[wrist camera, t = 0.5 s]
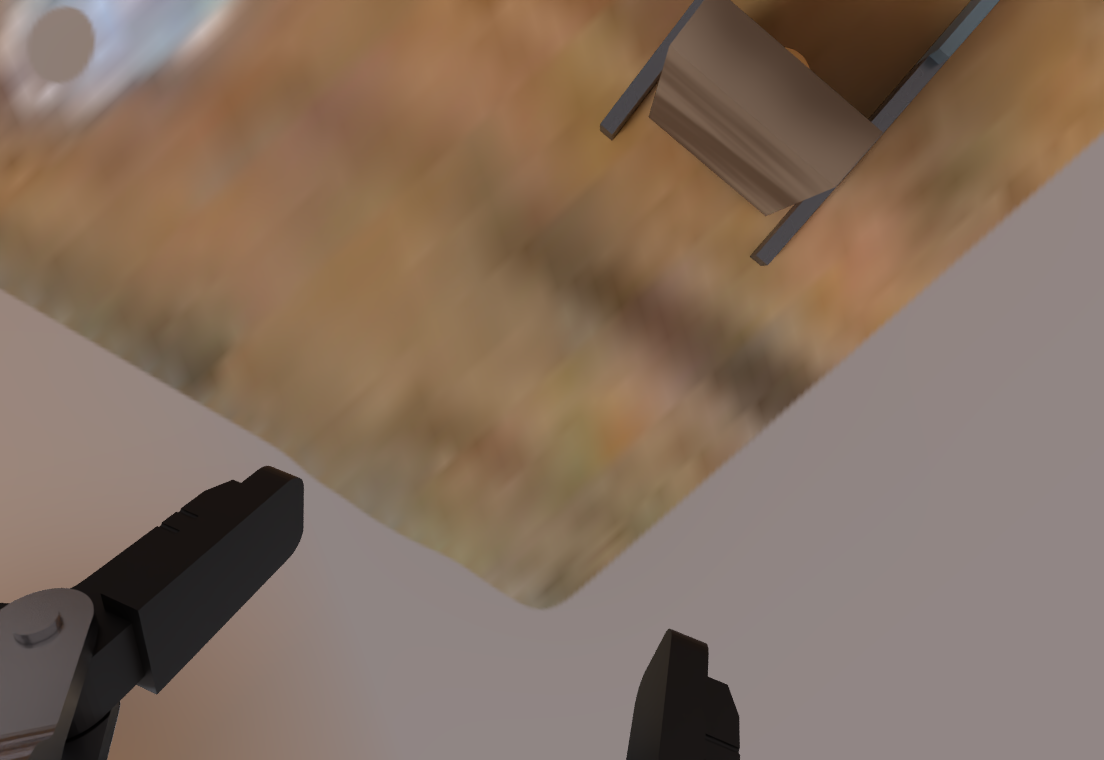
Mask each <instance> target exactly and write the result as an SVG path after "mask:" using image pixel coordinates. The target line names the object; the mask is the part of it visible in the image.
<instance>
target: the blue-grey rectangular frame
mask: <svg viewBox="0 0 1104 760" xmlns="http://www.w3.org/2000/svg"><path fill="white" fill-rule="evenodd" d="M999 1H1000V0H971V1H970V2H969V4H968V5H967V6H966V7H965V8H964V9H963V10H962V12H961V13H960V14H959V15H958V16H957V17H956V19H955V20H954V21H953V22H952V23H951V24H950V25H949V27H948V28H947V29H946V30H945V31H944V32H943V34H942V35H941V36H940V37H939V38H938V39H937V41H936V42H935V43H934V44H933V45H932V46H931V47H930V49H929V50H928V51H927V52H926V53H925V54H924V56H923V57H922V58H921V59H920V60H919V61H918V62H917V64H918V63H919V62H921V61H922V60H923V59H925V58H926V57H928V56H930V57H931V58H932V59H933V60H935V61H936V62H937V63H938V64H940V63H942V62H944V61H945V60H947V59H948V58H950V56H951V55H952V54H953V53H954V52H955V51H956V50H957V48H958V47H959V46H960V45H961V44H962V43H963V42H964V40H965V39H966V38H967V37H968V36H969V35H970V34H971V32H972V31H973V30H974V29H975V28H976V27H977V26H978V24H979V23H980V22H981V21H982V20H983V19H984V18H985V16H986V15H987V14H988V13H989V12H990V11H991V10H992V8H993V7H994V6H995V5H996V4H997V3H998V2H999Z"/></svg>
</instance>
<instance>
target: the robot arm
mask: <svg viewBox="0 0 1104 760" xmlns="http://www.w3.org/2000/svg"><path fill="white" fill-rule="evenodd" d="M303 496H304V485H303V481H302V479H300V478H298V477H296V476H293V475H291V474H288V473H286V472H283V471H281V470H278V469H276V468H274V467H271V466H265V467H262V468H260V469H259V470H257V471H256V472H255V473H253V474H252V475H251V476H250V477H248V478H247V479H246V480H244V481H243V482H242V483H239V482H237V481H235V480H231V481H229V482H226V483H223V484H221V485H218V486H216V487H213V488H211V489H208V490H206V491H204V492H202V493H201V494H200V495H198V496H197V497H196V498H195V499H193V500H192V501H190V502H189V503H188V504H186V505H185V506H184V507H182V508H181V510H180V512H175V513H174V514H173V515H171V516H170V517H169V518H167V519H166V520H165V521H163V522H162V524H161V526H160V527H158V526H157V527H155V528H154V529H153V530H151V531H150V532H149V533H147V534H146V535H144V536H143V537H142V538H140V539H139V540H138V541H137V542H135V543H134V544H132V545H131V546H130V547H128V548H127V549H125V550H124V551H123V552H121V553H120V554H119V555H117V556H116V557H115V558H113V559H112V560H111V561H109V562H108V563H107V564H105V565H104V566H103V567H102V568H100V569H99V570H97V571H96V572H94V573H93V574H92V575H90V576H89V577H88V578H87V579H85V580H83V581H82V582H81V583H79V584H78V585H76V586H74V587H72V588H70V589H68V588H55V589H48V590H42V591H39V592H35V593H32V594H29V595H26V596H24V597H22V598H20V599H17V600H15V601H13V602H12V603H0V760H107V758H108V753H109V749H110V745H111V742H112V738H113V734H114V730H115V725H116V722H117V717H118V714H119V709H120V700H121V699H122V698H123V697H124V696H125V695H126V694H127V693H128V692H129V691H130V690H131V689H132V688H133V687H134V686H135V685H138V686H140V687H142V688H144V689H146V690H148V691H151V692H153V693H155V694H158V693H159V692H160V691H161V690H162V689H163V688H164V687H165V686H166V685H167V683H169V682H170V680H171V679H172V678H173V677H174V676H175V675H176V674H177V673H178V672H179V671H180V670H181V669H182V668H183V667H184V666H185V665H186V664H187V663H188V662H189V661H190V660H191V659H192V658H193V657H194V656H195V655H196V654H197V653H198V652H199V651H200V649H201V648H202V647H203V646H204V645H205V644H206V643H207V642H208V641H209V640H210V639H211V638H212V637H213V636H214V635H215V634H216V633H217V632H218V631H219V630H220V629H221V628H222V627H223V626H224V625H225V624H226V622H228V621H229V619H230V618H231V617H232V616H233V615H234V614H235V613H236V612H237V611H238V610H239V609H240V608H241V607H242V606H243V605H244V604H245V603H246V602H247V601H248V600H249V599H250V598H251V597H252V596H253V595H254V594H255V592H256V591H258V589H259V588H260V587H261V586H262V585H263V584H264V583H265V582H266V581H267V580H268V579H269V578H270V577H271V576H272V575H273V574H274V573H275V572H276V571H277V570H278V569H279V568H280V567H281V566H282V565H283V564H284V563H285V562H286V560H287V559H288V558H289V557H290V556H291V555H292V554H293V552H294V551H295V549H296V548H297V546H298V544H299V542H300V539H301V536H302V533H303V507H304V497H303ZM739 740H740V739H739V715H738V712H737V709H736V706H735V704H734V701H733V698H732V696H731V693H730V690H729V687H728V685H727V684H724V683H722V682H720V681H717V680H714V679H712V678H710V677H708V646H707V644H706V643H704V642H701V641H698V640H696V639H694V638H692V637H689V636H686V635H684V634H682V633H679V632H677V631H674V630H671V629H668V630H667V631H666V633H665V635H664V637H663V639H662V641H661V643H660V644H659V646H658V648H657V650H656V652H655V654H654V656H653V658H652V660H651V662H650V664H649V665H648V667H647V669H646V671H645V673H644V675H643V678H642V680H641V683H640V686H639V690H638V693H637V697H636V702H635V707H634V713H633V720H632V727H631V732H630V739H629V745H628V751H627V758H626V760H740V754H739V748H740V742H739Z"/></svg>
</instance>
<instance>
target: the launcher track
mask: <svg viewBox="0 0 1104 760" xmlns="http://www.w3.org/2000/svg"><path fill="white" fill-rule="evenodd" d="M703 1H704V0H694V2H693V3H692V4H691V6H690V7H689V8H688V10H687V11H686V12H685V14H684V15H683V16H682V17H681V19H680V20H679V21H678V23H677V24H676V25H675V27H674V28H673V29H672V31H671V32H670V33H669V35H668V36H667V37H666V38H665V40H664V41H663V42H662V44H661V45H660V46H659V48H658V49H657V50H656V52H655V53H654V54H653V56H652V57H651V58H650V60H649V61H648V62H647V63H646V65H645V66H644V67H643V69H642V70H641V71H640V73H639V74H638V75H637V77H636V78H635V79H634V81H633V82H632V83H631V84H630V86H629V87H628V88H627V90H626V91H625V92H624V94H623V95H622V96H621V98H620V99H619V100H618V102H617V103H616V104H615V105H614V107H613V108H612V109H611V111H610V112H609V113H608V115H607V116H606V117H605V119H604V120H603V121H602V123H601V124H600V131H601V132H602V133H603V134H605V135H606V136H607V137H608V138H609V139H611V140H613V138H614V137H615V136H616V134H617V133H618V132H619V131H620V129H621V128H622V127H623V125H624V124H625V123H626V121H627V120H628V119H629V118H630V116H631V115H632V114H633V112H634V111H635V110H636V109H637V107H638V106H639V105H640V103H641V102H642V101H643V99H644V98H645V97H646V96H647V94H648V93H649V92H650V90H651V89H652V88H653V86H654V85H655V84H656V83H657V81H658V80H659V79H660V76H661V73H662V70H663V66H664V63H665V59H666V56H667V52H668V49H669V46H670V44H671V43H672V42H673V40H674V39H675V38H676V36H677V35H678V34H679V32H680V31H681V30H682V28H683V27H684V26H685V25H686V23H687V22H688V21H689V19H690V18H691V17H692V15H693V14H694V13H695V11H696V10H697V9H698V8H699V6H700V5H701V4H702V2H703ZM948 59H949V58H948ZM948 59H947V60H948ZM947 60H945V61H944V62H942V63H940V64H938V63H937V62H936V61H935V60H933V59H932V58H931V57H930V56H928V57H926V58H925V59H923V60H922V61H921V62H919V63H918V64H916V65H915V66H914V67H913V68H912V69H911V71H910V72H909V73H908V74H907V75H906V76H905V78H904V79H903V80H902V81H901V82H900V83H899V84H898V86H897V87H896V88H895V89H894V90H893V91H892V93H891V94H890V95H889V96H888V97H887V98H886V99H885V101H884V102H883V103H882V104H881V105H880V106H879V108H878V109H877V110H876V111H875V112H874V113H873V115H872V116H871V117H870V118H869V119H868V120H869V121H870V122H872V123H873V124H874V125H875V126H876V127H877V128H879V129H880V130H881V131H882V132H883V133H884V132H885V131H886V129H887V128H888V127H889V126H890V125H891V124H892V123H893V121H894V120H895V119H896V118H897V117H898V116H899V115H900V113H901V112H902V111H903V110H904V109H905V108H906V107H907V106H908V104H909V103H910V102H911V101H912V100H913V99H914V98H915V96H916V95H917V94H918V93H919V92H920V91H921V90H922V88H923V87H924V86H925V85H926V84H927V83H928V82H929V80H930V79H931V78H932V77H933V76H934V75H935V74H936V72H937V71H938V70H939V69H940V68H941V67H942V66H943V64H944V63H945V62H946V61H947ZM883 133H882V134H883ZM878 139H879V138H878ZM878 139H877V140H878ZM877 140H876V141H877ZM876 141H875V142H876ZM871 147H872V146H871ZM871 147H870V148H871ZM870 148H869V149H870ZM869 149H868V150H869ZM864 155H865V154H864ZM864 155H863V156H864ZM863 156H862V157H863ZM862 157H861V158H862ZM857 163H858V162H857ZM857 163H856V164H857ZM856 164H855V165H856ZM855 165H854V166H855ZM850 171H851V170H850ZM850 171H849V172H850ZM849 172H848V173H849ZM848 173H847V174H848ZM843 179H844V178H843ZM843 179H842V180H843ZM842 180H841V181H842ZM841 181H840V182H841ZM836 187H837V186H836ZM836 187H835V188H836ZM835 188H832V189H830V190H827V191H825V192H822V193H820V194H818V195H815V196H813V197H810V198H808V199H806V200H803V201H801V202H798V203H796V204H795V205H794V206H793V207H792V208H791V209H790V210H789V212H788V213H787V214H786V215H785V216H784V217H783V219H782V220H781V221H780V222H779V223H778V224H777V225H776V227H775V228H774V229H773V230H772V231H771V232H770V234H769V235H768V236H767V237H766V238H765V239H764V240H763V242H762V243H761V244H760V245H759V246H758V247H757V249H756V250H755V251H754V252H753V253H752V254H751V256H750V257H751V258H752V259H753V260H755V261H756V262H757V263H758V264H759V265H760V266H765V265H768V264H769V263H770V262H771V261H772V260H773V259H774V257H775V256H776V255H777V254H778V253H779V252H780V251H781V249H782V248H783V247H784V246H785V245H786V244H787V243H788V241H789V240H790V239H791V238H792V237H793V236H794V235H795V233H796V232H797V231H798V230H799V229H800V228H801V227H802V225H803V224H804V223H805V222H806V221H807V220H808V219H809V217H810V216H811V215H812V214H813V213H814V212H815V211H816V209H817V208H818V207H819V206H820V205H821V204H822V203H823V201H824V200H825V199H826V198H827V197H828V196H829V195H830V193H831V192H832V191H833V190H834V189H835Z"/></svg>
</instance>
